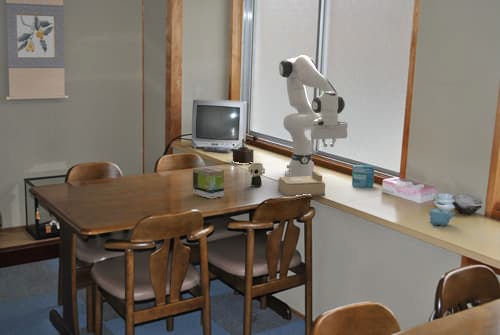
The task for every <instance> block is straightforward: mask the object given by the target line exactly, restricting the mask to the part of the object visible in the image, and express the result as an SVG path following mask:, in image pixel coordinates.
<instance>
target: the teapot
mask: <svg viewBox="0 0 500 335" xmlns="http://www.w3.org/2000/svg"><path fill="white" fill-rule="evenodd" d="M428 214H429V221H430V222H429V224H432V226H437V225H439V226H440V227H442V228H443V227H445V226H447V225H448V224H449V223H450V221H451V219H452V217H453V215H454V214H456V212H451V211H450V210H448V209H443V208H433V209H432V210H430V211H429V212H428Z"/></svg>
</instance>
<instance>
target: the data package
mask: <svg viewBox="0 0 500 335" xmlns="http://www.w3.org/2000/svg"><path fill="white" fill-rule="evenodd" d="M351 170H352V175H351V186H352V187H353V188H366V189H367V188H374V182H375V178H374V177H375V167H374V166H373V165H365V164H364V165H363V164H354V165H353V166H352V169H351Z"/></svg>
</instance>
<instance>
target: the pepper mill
mask: <svg viewBox="0 0 500 335" xmlns="http://www.w3.org/2000/svg"><path fill="white" fill-rule="evenodd" d="M258 140H259V137H258V136H257V135H253V136H252V142H251V141H250V142H249V141H245V140H244V138H242V139H241V143H242V146H241V147H238V148H236V149H235V148H234V149H232V162H233V161H234V162H239V163H250V162H254V149H252V148H249V147H247V146H245V144H256V143H257V141H258Z"/></svg>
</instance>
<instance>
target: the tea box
mask: <svg viewBox="0 0 500 335" xmlns="http://www.w3.org/2000/svg"><path fill="white" fill-rule="evenodd" d="M192 174H193V175H192V176H193V177H192V181H193V182H192V183H193V186H192V188H193V189H192V191H193V193H196V194H199V195H202V196H204V197H207V198H215V197H220V196H224V195H225V171H224V169H219V168H214V167H212V166H211V167H210V166H203V167H195V168H193V169H192ZM207 198H206V199H207Z"/></svg>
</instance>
